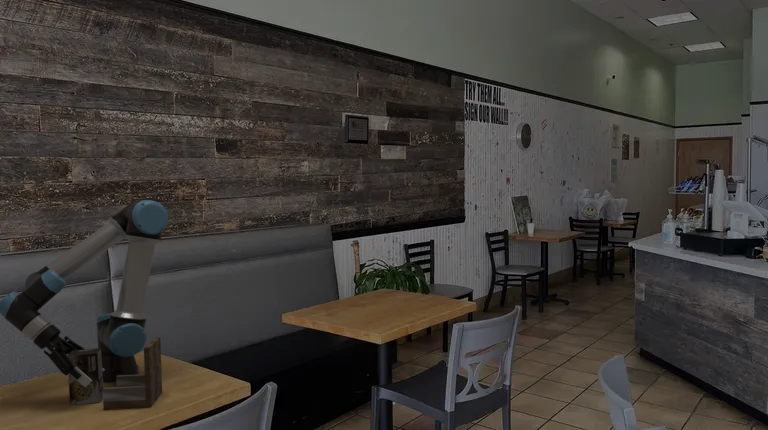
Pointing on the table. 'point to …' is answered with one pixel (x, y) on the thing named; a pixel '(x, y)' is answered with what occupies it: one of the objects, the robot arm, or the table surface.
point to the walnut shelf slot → (138, 383)
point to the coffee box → (92, 367)
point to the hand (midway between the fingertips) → (95, 378)
